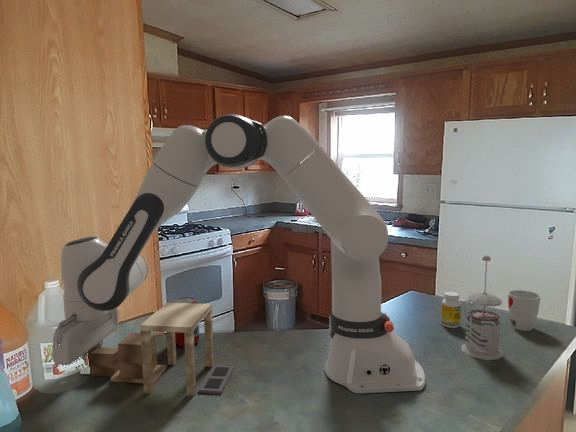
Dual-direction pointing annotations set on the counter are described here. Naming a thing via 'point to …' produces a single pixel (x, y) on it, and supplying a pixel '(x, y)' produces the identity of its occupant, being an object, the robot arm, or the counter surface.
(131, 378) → the wooden step block
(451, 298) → the supplement bottle
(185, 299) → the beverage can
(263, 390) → the counter surface
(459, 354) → the counter surface
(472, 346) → the french press
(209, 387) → the pit board
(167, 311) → the small wooden table
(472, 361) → the counter surface
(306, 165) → the robot arm
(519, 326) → the cup
